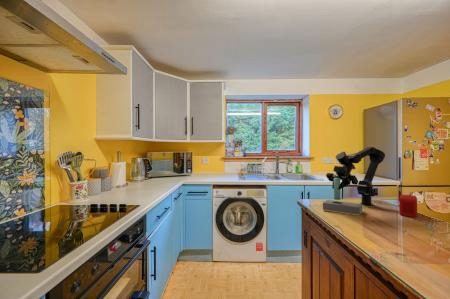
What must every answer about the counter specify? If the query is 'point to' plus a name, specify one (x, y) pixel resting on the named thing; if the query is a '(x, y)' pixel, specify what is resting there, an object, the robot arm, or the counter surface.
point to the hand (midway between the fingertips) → (335, 188)
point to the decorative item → (408, 205)
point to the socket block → (343, 207)
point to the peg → (336, 188)
